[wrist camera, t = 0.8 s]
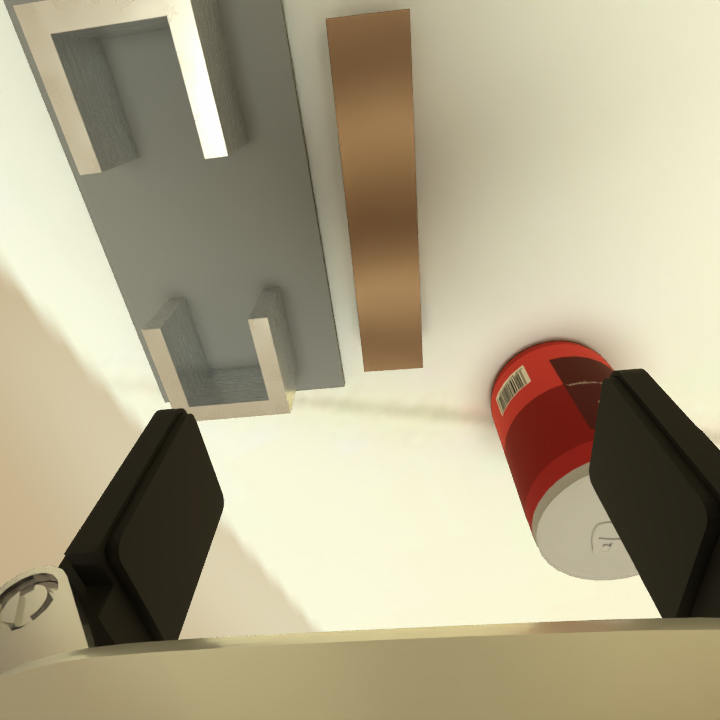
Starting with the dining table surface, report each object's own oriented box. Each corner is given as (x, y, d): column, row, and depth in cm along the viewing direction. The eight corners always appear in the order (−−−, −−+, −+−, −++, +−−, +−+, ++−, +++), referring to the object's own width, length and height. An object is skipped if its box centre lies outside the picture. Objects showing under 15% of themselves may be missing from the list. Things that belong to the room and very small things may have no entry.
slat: (333, 26, 22) (325, 18, 19) (404, 17, 22) (409, 8, 18) (365, 337, 30) (364, 371, 27) (417, 333, 30) (422, 367, 27)
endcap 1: (70, 15, 21) (12, 5, 18) (215, -8, 21) (184, -23, 17) (120, 160, 24) (79, 175, 21) (248, 143, 24) (227, 156, 21)
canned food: (494, 446, 34) (540, 591, 25) (480, 350, 30) (529, 478, 21) (608, 427, 33) (702, 571, 24) (609, 324, 29) (723, 448, 20)
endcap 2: (299, 374, 31) (290, 413, 27) (199, 383, 31) (177, 422, 28) (280, 286, 28) (267, 317, 24) (169, 298, 28) (141, 330, 25)
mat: (5, -8, 21) (-1, -9, 21) (272, -52, 20) (270, -54, 20) (167, 399, 33) (164, 402, 32) (344, 383, 32) (344, 386, 31)
